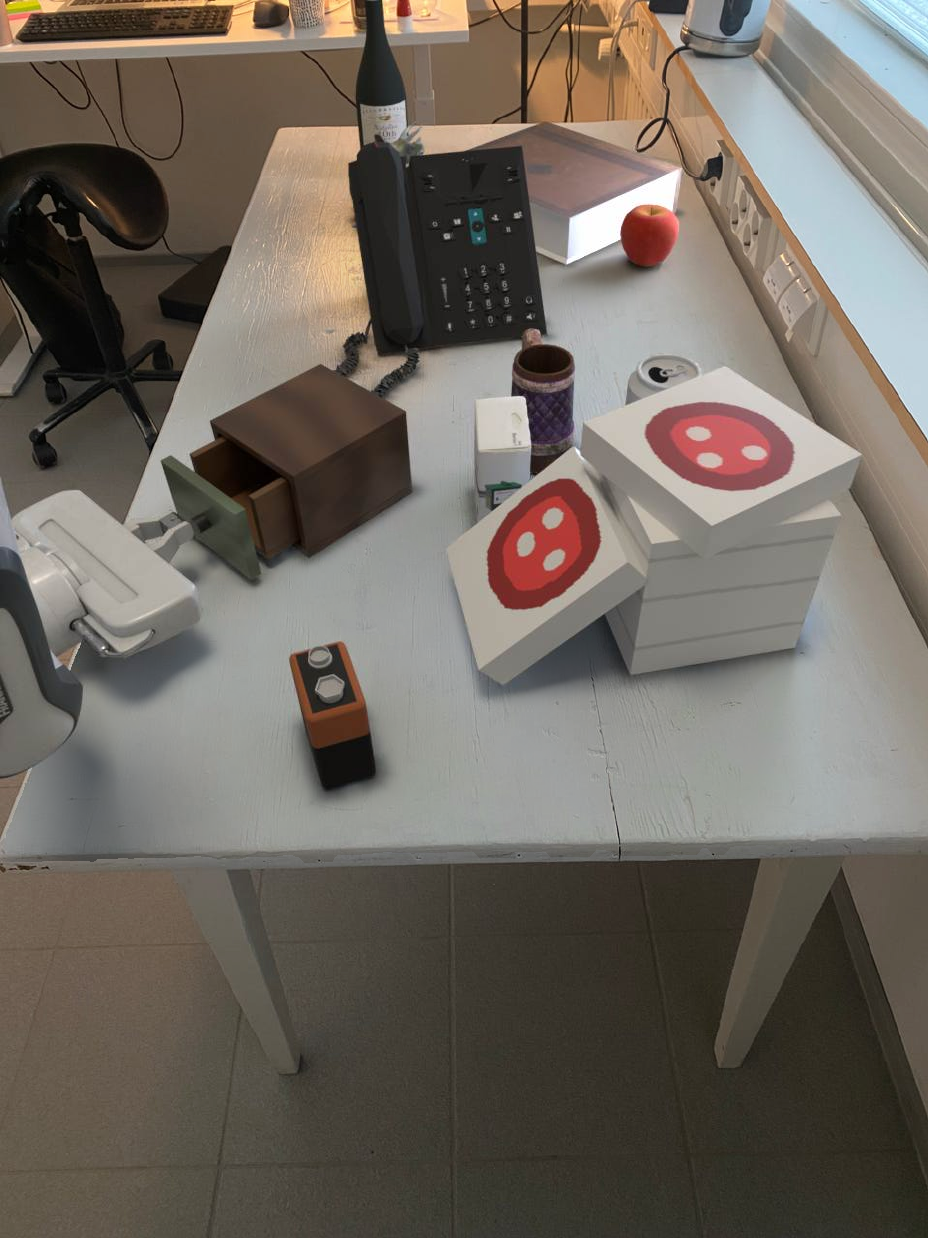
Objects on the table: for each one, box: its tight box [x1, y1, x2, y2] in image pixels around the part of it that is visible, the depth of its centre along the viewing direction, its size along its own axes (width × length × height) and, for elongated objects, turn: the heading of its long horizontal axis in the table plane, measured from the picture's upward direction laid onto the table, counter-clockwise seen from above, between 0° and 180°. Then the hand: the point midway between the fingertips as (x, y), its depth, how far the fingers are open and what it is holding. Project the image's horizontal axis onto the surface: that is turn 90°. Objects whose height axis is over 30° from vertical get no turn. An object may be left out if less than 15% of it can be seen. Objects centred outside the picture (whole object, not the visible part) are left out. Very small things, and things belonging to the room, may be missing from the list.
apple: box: [620, 204, 680, 267], centre depth 128 cm, size 8×8×8 cm
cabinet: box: [209, 363, 413, 558], centre depth 93 cm, size 14×13×10 cm
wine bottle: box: [354, 0, 410, 169], centre depth 144 cm, size 8×8×30 cm
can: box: [624, 353, 703, 406], centre depth 94 cm, size 8×8×12 cm
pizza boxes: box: [445, 365, 863, 686], centre depth 77 cm, size 19×30×18 cm, turn 101°
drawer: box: [160, 436, 300, 581], centre depth 89 cm, size 14×12×8 cm
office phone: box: [332, 141, 548, 399], centre depth 110 cm, size 29×28×20 cm
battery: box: [288, 640, 377, 791], centre depth 70 cm, size 4×7×10 cm, turn 19°
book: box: [465, 120, 683, 265], centre depth 141 cm, size 24×28×7 cm
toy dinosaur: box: [348, 120, 425, 229], centre depth 138 cm, size 22×8×11 cm, turn 154°
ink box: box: [473, 396, 531, 524], centre depth 89 cm, size 9×5×12 cm, turn 2°
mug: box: [510, 328, 576, 474], centre depth 97 cm, size 10×7×12 cm
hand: (183, 522), depth 84 cm, fingers closed
